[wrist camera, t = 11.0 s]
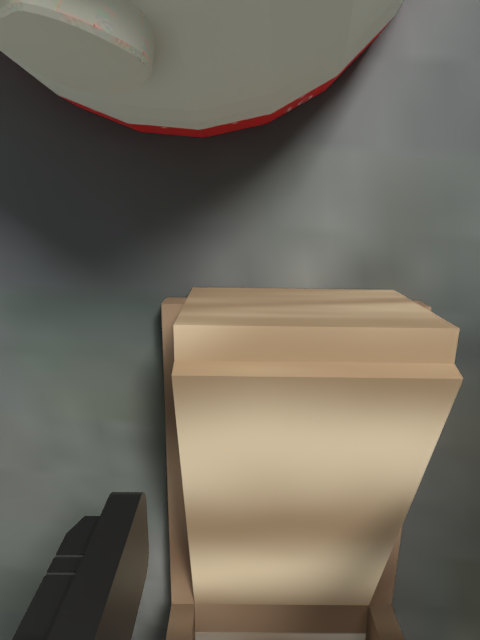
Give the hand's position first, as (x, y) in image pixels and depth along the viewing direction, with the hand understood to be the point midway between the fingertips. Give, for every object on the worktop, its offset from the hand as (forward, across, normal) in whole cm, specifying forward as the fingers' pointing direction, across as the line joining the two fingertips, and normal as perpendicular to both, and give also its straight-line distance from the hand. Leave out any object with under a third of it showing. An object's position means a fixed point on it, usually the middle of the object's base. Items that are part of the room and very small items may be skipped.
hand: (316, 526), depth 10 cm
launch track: (+8, 0, +6) cm, 10 cm away
